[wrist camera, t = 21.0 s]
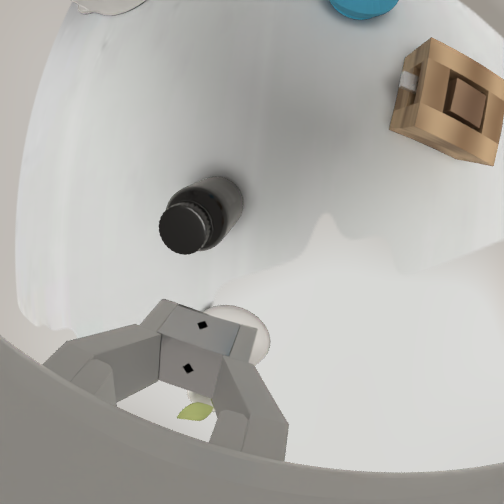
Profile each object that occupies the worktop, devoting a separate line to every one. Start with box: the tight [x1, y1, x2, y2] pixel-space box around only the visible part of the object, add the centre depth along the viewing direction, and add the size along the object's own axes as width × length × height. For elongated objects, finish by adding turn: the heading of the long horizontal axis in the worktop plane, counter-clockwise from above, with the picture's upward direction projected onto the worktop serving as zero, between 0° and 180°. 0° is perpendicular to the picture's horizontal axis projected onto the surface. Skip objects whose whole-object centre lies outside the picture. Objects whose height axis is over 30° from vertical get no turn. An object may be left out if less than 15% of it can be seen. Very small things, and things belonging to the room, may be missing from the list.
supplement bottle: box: [159, 177, 243, 255], centre depth 32 cm, size 7×7×12 cm
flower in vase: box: [177, 305, 270, 421], centre depth 33 cm, size 13×11×25 cm
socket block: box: [389, 37, 504, 166], centre depth 25 cm, size 10×10×9 cm
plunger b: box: [399, 71, 419, 94], centre depth 24 cm, size 4×4×1 cm
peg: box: [442, 78, 486, 128], centre depth 25 cm, size 4×4×9 cm
